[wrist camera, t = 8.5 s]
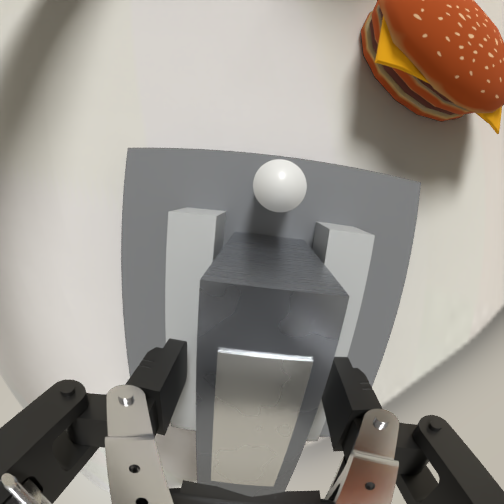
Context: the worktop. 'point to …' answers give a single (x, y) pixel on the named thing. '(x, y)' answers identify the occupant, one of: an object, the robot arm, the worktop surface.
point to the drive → (262, 359)
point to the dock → (264, 223)
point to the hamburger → (437, 57)
